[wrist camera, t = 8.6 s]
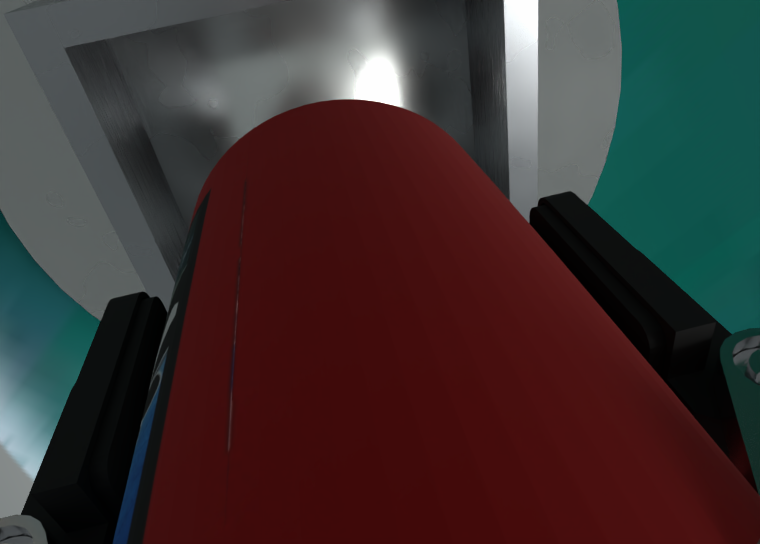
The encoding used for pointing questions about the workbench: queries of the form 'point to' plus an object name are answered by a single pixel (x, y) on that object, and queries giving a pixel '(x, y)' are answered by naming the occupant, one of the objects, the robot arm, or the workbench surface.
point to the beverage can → (402, 365)
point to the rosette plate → (272, 107)
